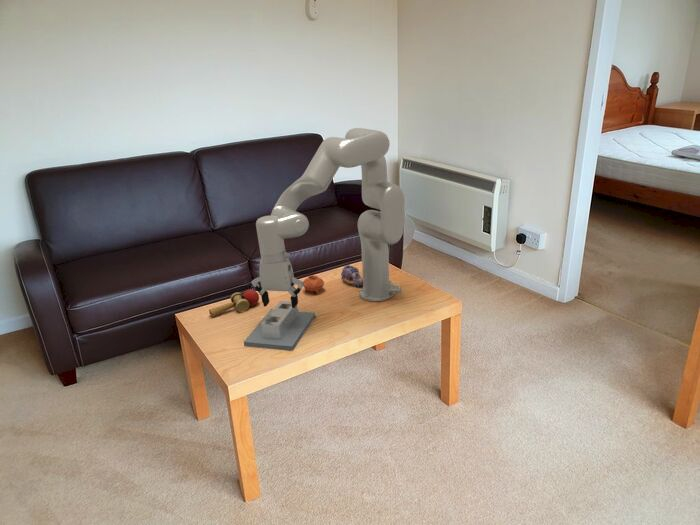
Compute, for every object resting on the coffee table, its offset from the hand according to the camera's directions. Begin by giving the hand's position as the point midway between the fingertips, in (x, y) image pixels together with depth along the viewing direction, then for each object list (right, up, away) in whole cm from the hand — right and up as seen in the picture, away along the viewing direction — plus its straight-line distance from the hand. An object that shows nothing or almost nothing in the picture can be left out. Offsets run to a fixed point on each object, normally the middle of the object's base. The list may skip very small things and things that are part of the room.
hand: (280, 305), depth 166 cm
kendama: (-18, -3, +19) cm, 26 cm away
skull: (+24, +5, +35) cm, 42 cm away
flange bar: (0, -7, +3) cm, 7 cm away
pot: (+9, +3, +30) cm, 31 cm away
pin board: (0, -8, +3) cm, 9 cm away
